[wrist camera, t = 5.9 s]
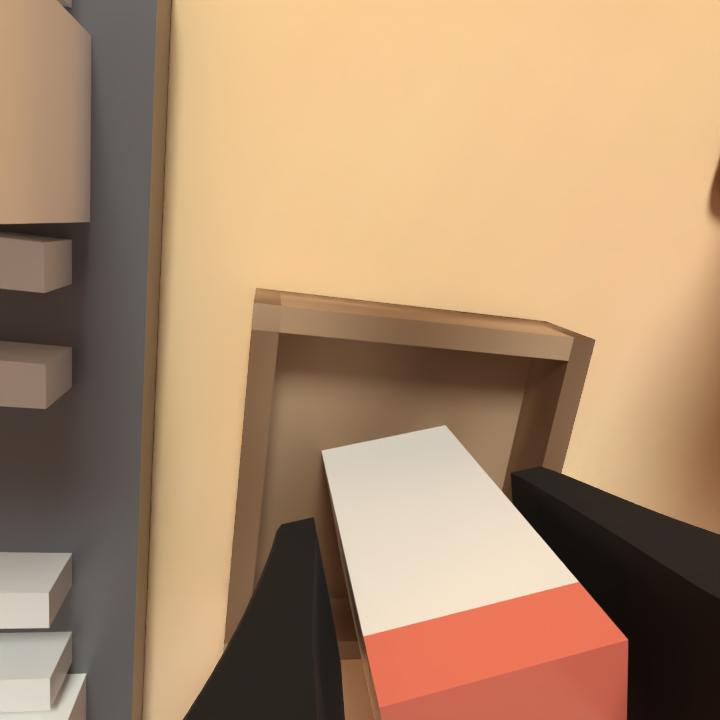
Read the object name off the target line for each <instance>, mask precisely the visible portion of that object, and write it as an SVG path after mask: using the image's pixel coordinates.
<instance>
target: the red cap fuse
mask: <svg viewBox="0 0 720 720" xmlns="http://www.w3.org/2000/svg"><path fill="white" fill-rule="evenodd" d="M322 457H323V462H324V468H325V474H326V479H327V485H328V490H329V496H330V502H331V507H332V513H333V518H334V524H335V530H336V535H337V541H338V547H339V552H340V558H341V563H342V568H343V572H344V577H345V582H346V587H347V591H348V596H349V601H350V606H351V610H352V615H353V620H354V625H355V629H356V634H357V639H358V644H359V648H360V653H361V658H362V663H363V667H364V672H365V677H366V682H367V686H368V691H369V696H370V701H371V705H372V710H373V715H374V720H627V684H628V639H627V638H626V637H625V635H624V634H623V633H622V632H621V631H620V629H619V628H618V627H617V626H616V625H615V624H614V622H613V621H612V620H611V619H610V618H609V617H608V615H607V614H606V613H605V612H604V611H603V610H602V608H601V607H600V606H599V605H598V604H597V602H596V601H595V600H594V599H593V598H592V597H591V595H590V594H589V593H588V592H587V591H586V590H585V588H584V587H583V586H582V585H581V584H580V583H579V581H578V580H577V579H576V578H575V577H574V575H573V574H572V573H571V572H570V571H569V570H568V568H567V567H566V566H565V565H564V564H563V563H562V561H561V560H560V559H559V558H558V557H557V556H556V554H555V553H554V552H553V551H552V550H551V548H550V547H549V546H548V545H547V544H546V543H545V541H544V540H543V539H542V538H541V537H540V536H539V534H538V533H537V532H536V531H535V530H534V529H533V527H532V526H531V525H530V524H529V523H528V522H527V520H526V519H525V518H524V517H523V516H522V514H521V513H520V512H519V511H518V510H517V509H516V507H515V506H514V505H513V504H512V503H511V502H510V500H509V499H508V498H507V497H506V496H505V495H504V493H503V492H502V491H501V490H500V489H499V487H498V486H497V485H496V484H495V483H494V482H493V480H492V479H491V478H490V477H489V476H488V475H487V473H486V472H485V471H484V470H483V469H482V468H481V466H480V465H479V464H478V463H477V462H476V460H475V459H474V458H473V457H472V456H471V455H470V453H469V452H468V451H467V450H466V449H465V448H464V446H463V445H462V444H461V443H460V442H459V441H458V439H457V438H456V437H455V436H454V435H453V433H452V432H451V431H450V430H449V429H448V428H447V426H446V425H444V426H440V427H435V428H430V429H425V430H420V431H415V432H410V433H405V434H400V435H396V436H391V437H386V438H381V439H376V440H371V441H366V442H361V443H357V444H352V445H347V446H342V447H337V448H332V449H327V450H322Z"/></svg>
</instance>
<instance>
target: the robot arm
mask: <svg viewBox="0 0 720 720" xmlns="http://www.w3.org/2000/svg"><path fill="white" fill-rule="evenodd" d="M511 487H512V503H513V505H514V506H515V507H516V509H517V510H518V511H519V512H520V513H521V514H522V516H523V517H524V518H525V519H526V520H527V522H528V523H529V524H530V525H531V526H532V527H533V529H534V530H535V531H536V532H537V533H538V534H539V536H540V537H541V538H542V539H543V540H544V541H545V543H546V544H547V545H548V546H549V547H550V548H551V550H552V551H553V552H554V553H555V554H556V556H557V557H558V558H559V559H560V560H561V561H562V563H563V564H564V565H565V566H566V567H567V568H568V570H569V571H570V572H571V573H572V574H573V575H574V577H575V578H576V579H577V580H578V581H579V583H580V584H581V585H582V586H583V587H584V588H585V590H586V591H587V592H588V593H589V594H590V595H591V597H592V598H593V599H594V600H595V601H596V602H597V604H598V605H599V606H600V607H601V608H602V610H603V611H604V612H605V613H606V614H607V615H608V617H609V618H610V619H611V620H612V621H613V622H614V624H615V625H616V626H617V627H618V628H619V629H620V631H621V632H622V633H623V634H624V635H625V637H626V638H627V639H628V684H627V720H720V535H719V534H716V533H713V532H710V531H707V530H705V529H702V528H699V527H696V526H693V525H690V524H687V523H685V522H682V521H679V520H676V519H673V518H671V517H668V516H665V515H663V514H660V513H657V512H655V511H652V510H650V509H647V508H644V507H642V506H639V505H637V504H634V503H632V502H629V501H627V500H624V499H622V498H619V497H617V496H615V495H612V494H610V493H607V492H605V491H602V490H600V489H598V488H595V487H593V486H590V485H588V484H585V483H583V482H581V481H578V480H576V479H573V478H571V477H568V476H566V475H563V474H561V473H558V472H556V471H553V470H550V469H547V468H544V467H541V466H538V467H534V468H529V469H525V470H520V471H516V472H512V473H511ZM183 720H345V716H344V702H343V689H342V675H341V662H340V655H339V649H338V643H337V637H336V631H335V625H334V619H333V613H332V607H331V602H330V597H329V592H328V587H327V582H326V577H325V572H324V567H323V561H322V556H321V551H320V546H319V541H318V536H317V531H316V526H315V521H314V517H312V518H307V519H303V520H298V521H294V522H289V523H285V524H281V526H280V527H279V528H278V530H277V531H276V535H275V538H274V541H273V545H272V548H271V551H270V553H269V556H268V559H267V561H266V564H265V567H264V569H263V572H262V574H261V577H260V579H259V581H258V583H257V586H256V588H255V590H254V592H253V595H252V597H251V599H250V601H249V604H248V606H247V608H246V610H245V612H244V614H243V616H242V618H241V620H240V622H239V624H238V626H237V628H236V630H235V632H234V634H233V636H232V638H231V639H230V641H229V643H228V645H227V647H226V649H225V651H224V653H223V655H222V657H221V658H220V660H219V662H218V664H217V665H216V667H215V669H214V671H213V672H212V674H211V676H210V677H209V679H208V681H207V682H206V684H205V686H204V687H203V689H202V691H201V692H200V694H199V695H198V697H197V698H196V700H195V702H194V703H193V705H192V706H191V708H190V710H189V711H188V713H187V714H186V716H185V717H184V719H183Z"/></svg>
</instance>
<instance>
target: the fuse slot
mask: <svg viewBox="0 0 720 720" xmlns="http://www.w3.org/2000/svg"><path fill="white" fill-rule="evenodd" d="M86 680H87V673H86V674H66V676H65V679H64V681H63V683H62V685H61V688H60V690H59V692H58V694H57V697H56V699H55V701H54V703H53V706H52V708H51V710H48V711H25V712H2V713H0V720H86Z"/></svg>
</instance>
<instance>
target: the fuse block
mask: <svg viewBox="0 0 720 720" xmlns="http://www.w3.org/2000/svg"><path fill="white" fill-rule="evenodd" d="M57 1H58V2H59V3H60V4H61V5H62V6H63V7H64V8H65V9H66V10H67V11H68V12H69V13H70V14H71V15H72V16H73V17H74V18H75V19H76V21H77V22H78V23H79V24H80V25H81V26H82V27H83V28H84V29H85V30H86V31H87V32H88V33H89V34H90V35H91V158H90V222H73V223H27V224H0V713H2V712H25V711H48V710H51V708H52V706H53V703H54V701H55V699H56V697H57V694H58V692H59V690H60V688H61V685H62V683H63V681H64V679H65V676H66V674H86V673H87V680H86V720H142V701H143V677H144V653H145V628H146V604H147V580H148V556H149V531H150V507H151V483H152V459H153V435H154V410H155V386H156V362H157V338H158V314H159V289H160V265H161V241H162V217H163V192H164V168H165V144H166V120H167V96H168V71H169V47H170V23H171V0H57Z"/></svg>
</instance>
